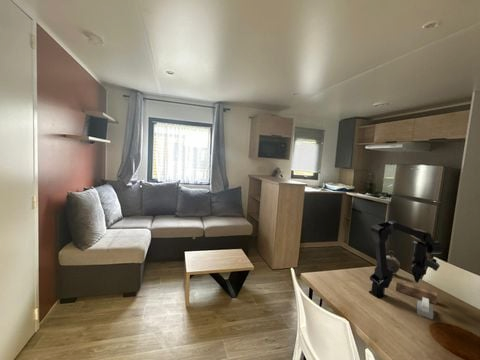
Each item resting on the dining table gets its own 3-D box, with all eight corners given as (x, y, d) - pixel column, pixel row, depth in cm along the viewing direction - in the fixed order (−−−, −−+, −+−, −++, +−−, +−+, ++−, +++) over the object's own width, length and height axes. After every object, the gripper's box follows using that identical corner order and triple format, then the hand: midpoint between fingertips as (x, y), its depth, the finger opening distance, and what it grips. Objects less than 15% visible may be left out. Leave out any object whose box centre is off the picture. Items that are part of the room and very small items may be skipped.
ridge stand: (416, 313, 110) (418, 304, 110) (417, 304, 118) (418, 295, 118) (432, 319, 107) (434, 309, 106) (431, 309, 114) (433, 300, 114)
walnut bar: (395, 290, 131) (396, 282, 131) (396, 288, 134) (397, 280, 133) (436, 304, 120) (437, 295, 119) (435, 301, 122) (436, 293, 122)
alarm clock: (399, 275, 150) (401, 252, 149) (397, 278, 146) (400, 254, 145) (380, 269, 158) (383, 247, 156) (378, 271, 154) (381, 249, 152)
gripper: (440, 262, 112) (436, 292, 114) (438, 252, 127) (434, 278, 128) (413, 255, 119) (409, 283, 120) (413, 246, 134) (410, 271, 135)
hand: (416, 279), depth 126 cm, fingers open, 9 cm apart
